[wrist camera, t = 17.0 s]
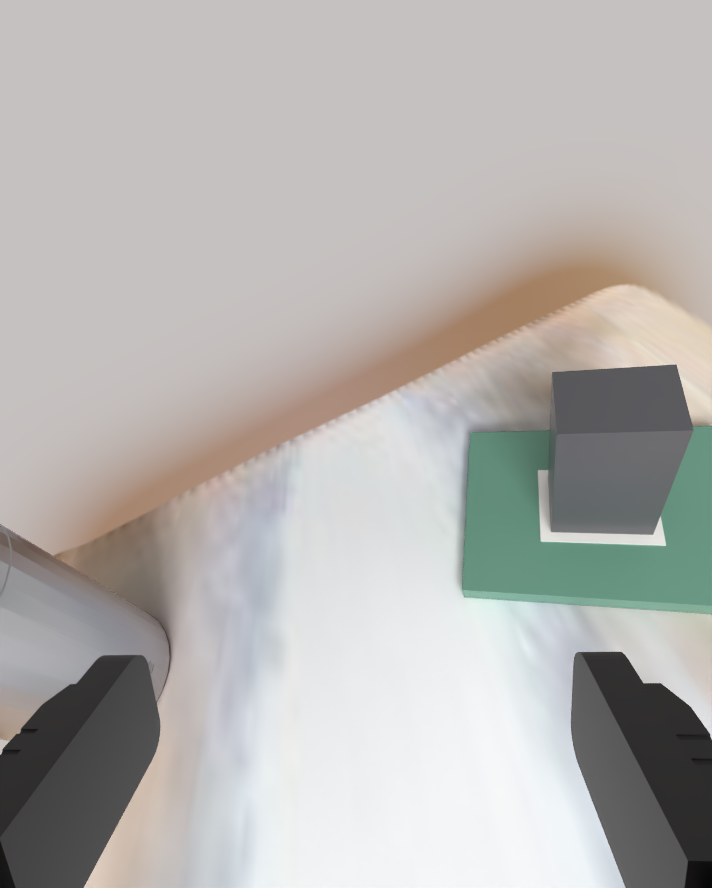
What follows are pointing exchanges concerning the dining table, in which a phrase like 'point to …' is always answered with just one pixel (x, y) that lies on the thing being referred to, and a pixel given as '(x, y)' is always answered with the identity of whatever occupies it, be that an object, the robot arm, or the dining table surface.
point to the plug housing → (615, 448)
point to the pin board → (582, 535)
